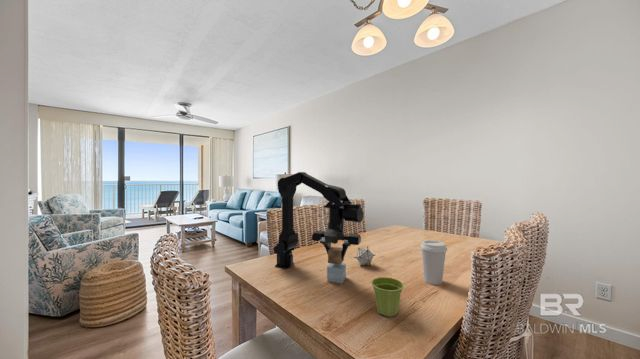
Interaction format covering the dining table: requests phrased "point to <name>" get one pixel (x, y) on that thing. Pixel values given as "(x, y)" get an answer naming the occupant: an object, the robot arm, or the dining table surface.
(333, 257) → the walnut cube
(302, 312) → the dining table surface
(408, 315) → the dining table surface
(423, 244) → the coffee cup
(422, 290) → the dining table surface
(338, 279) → the slab bottom
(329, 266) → the slab top
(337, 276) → the slab middle
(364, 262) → the game die
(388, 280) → the plant pot
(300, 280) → the dining table surface
